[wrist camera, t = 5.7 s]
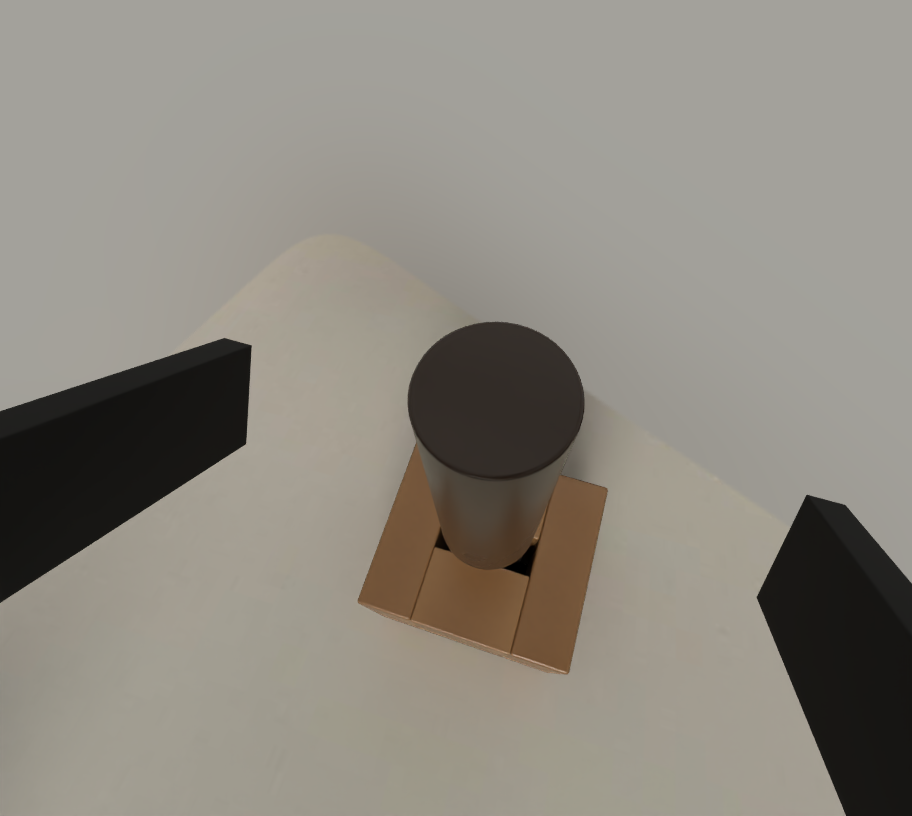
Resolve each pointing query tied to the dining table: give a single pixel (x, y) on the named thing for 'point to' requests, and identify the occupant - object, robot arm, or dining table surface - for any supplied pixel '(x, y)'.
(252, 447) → the dining table surface
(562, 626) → the knife stand
